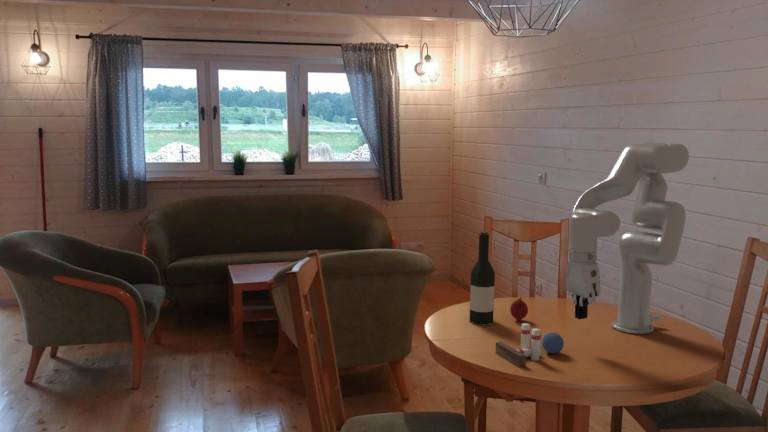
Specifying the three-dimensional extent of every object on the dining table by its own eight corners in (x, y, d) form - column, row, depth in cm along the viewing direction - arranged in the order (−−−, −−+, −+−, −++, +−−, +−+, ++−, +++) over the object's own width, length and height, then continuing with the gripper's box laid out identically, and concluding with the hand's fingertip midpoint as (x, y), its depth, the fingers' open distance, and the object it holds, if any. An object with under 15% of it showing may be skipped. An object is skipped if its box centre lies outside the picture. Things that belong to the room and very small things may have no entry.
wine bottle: (474, 325, 211) (477, 234, 207) (465, 318, 219) (467, 230, 215) (498, 323, 213) (501, 233, 209) (488, 316, 221) (491, 229, 217)
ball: (534, 337, 186) (542, 353, 188) (547, 344, 181) (555, 360, 183) (550, 325, 188) (557, 341, 190) (563, 332, 182) (571, 348, 184)
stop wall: (501, 351, 186) (501, 341, 186) (525, 366, 175) (526, 355, 175) (495, 352, 186) (495, 342, 185) (519, 367, 175) (519, 356, 174)
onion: (527, 323, 213) (528, 300, 212) (509, 322, 214) (510, 299, 213) (527, 318, 219) (528, 295, 218) (510, 317, 220) (510, 294, 219)
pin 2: (536, 357, 182) (537, 328, 181) (541, 360, 180) (542, 330, 179) (528, 358, 181) (529, 329, 180) (533, 361, 179) (535, 331, 178)
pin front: (537, 345, 185) (512, 348, 181) (542, 348, 183) (517, 352, 179) (536, 353, 185) (511, 357, 182) (541, 356, 183) (516, 360, 180)
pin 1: (525, 351, 187) (527, 322, 186) (530, 354, 185) (532, 325, 183) (518, 352, 186) (519, 323, 185) (523, 355, 184) (524, 326, 182)
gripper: (611, 260, 180) (609, 323, 183) (576, 250, 194) (574, 309, 197) (589, 263, 177) (587, 327, 180) (555, 252, 191) (554, 312, 194)
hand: (581, 317), depth 189 cm, fingers closed
